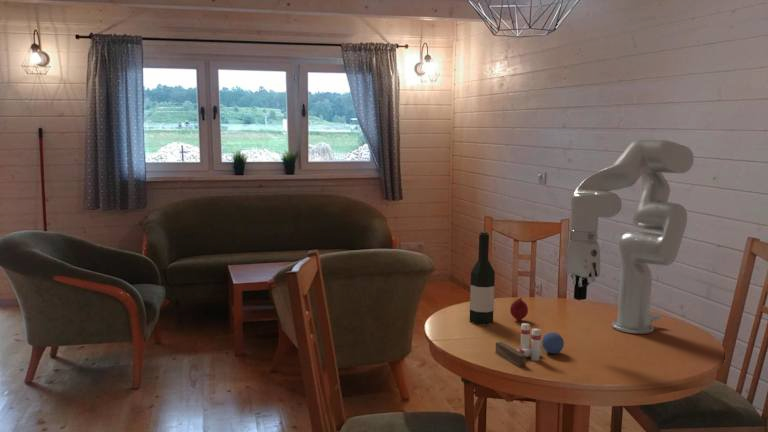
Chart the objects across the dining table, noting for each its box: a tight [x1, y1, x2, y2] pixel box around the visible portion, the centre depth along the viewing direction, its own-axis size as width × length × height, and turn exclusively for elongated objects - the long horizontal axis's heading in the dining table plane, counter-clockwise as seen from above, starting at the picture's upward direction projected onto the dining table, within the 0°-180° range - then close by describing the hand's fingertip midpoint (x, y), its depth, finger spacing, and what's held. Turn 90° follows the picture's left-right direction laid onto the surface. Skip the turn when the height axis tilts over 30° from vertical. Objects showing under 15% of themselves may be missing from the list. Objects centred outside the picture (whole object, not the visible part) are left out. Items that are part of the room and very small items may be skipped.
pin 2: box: [530, 328, 542, 362], centre depth 180 cm, size 2×2×8 cm
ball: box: [541, 332, 565, 355], centre depth 185 cm, size 6×6×6 cm
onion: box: [509, 296, 529, 321], centre depth 216 cm, size 6×6×8 cm
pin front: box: [516, 347, 543, 358], centre depth 182 cm, size 2×2×8 cm
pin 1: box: [520, 322, 531, 349], centre depth 185 cm, size 2×2×8 cm
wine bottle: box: [469, 230, 496, 326], centre depth 214 cm, size 8×8×30 cm
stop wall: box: [495, 341, 527, 368], centre depth 180 cm, size 2×12×3 cm, turn 22°
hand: (580, 298), depth 187 cm, fingers closed
